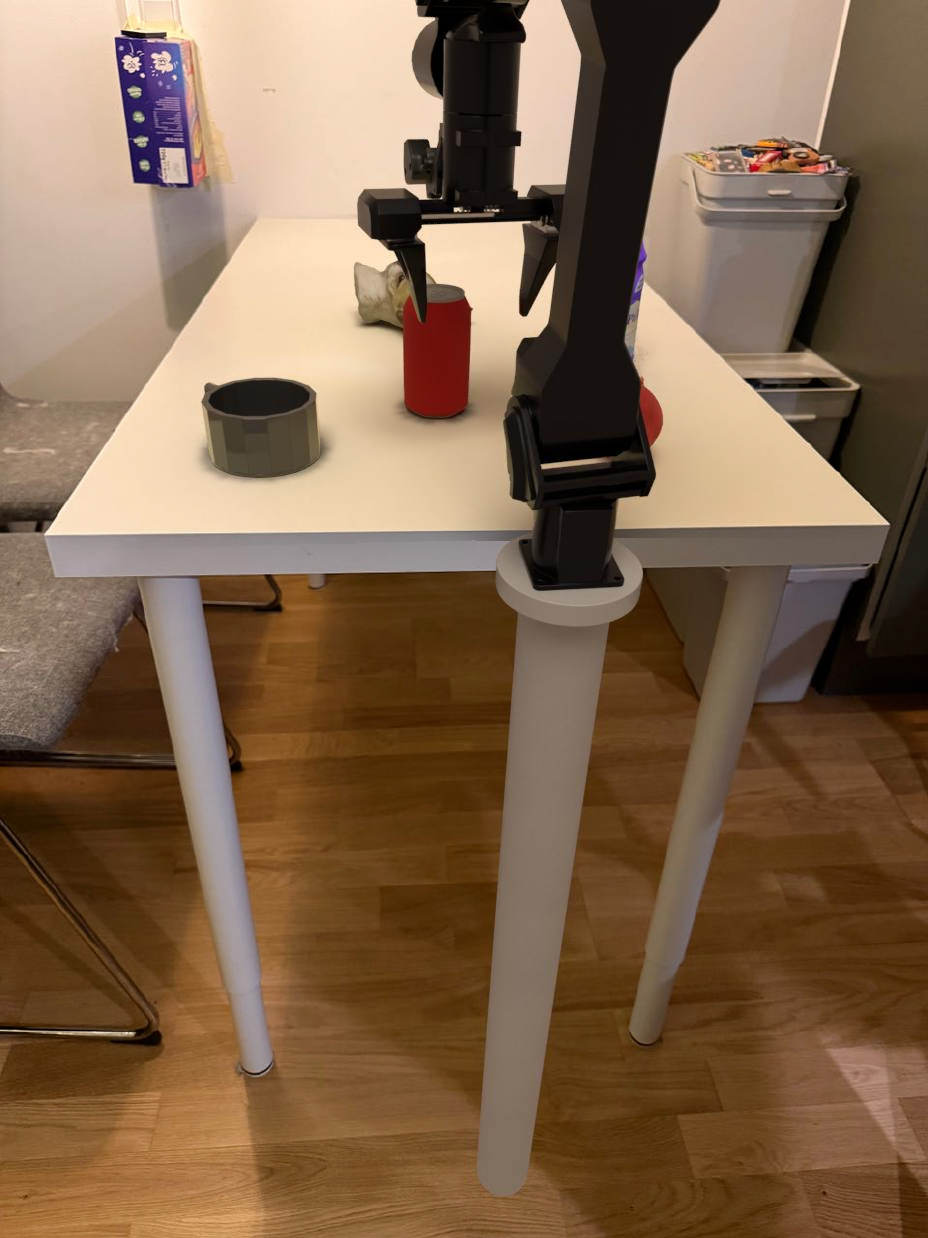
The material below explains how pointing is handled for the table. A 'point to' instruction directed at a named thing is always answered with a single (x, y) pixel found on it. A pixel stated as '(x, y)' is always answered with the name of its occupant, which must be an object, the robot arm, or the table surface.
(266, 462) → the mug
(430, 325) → the beverage can
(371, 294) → the ceramic sculpture
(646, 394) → the onion
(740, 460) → the table surface
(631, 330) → the bottle
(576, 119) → the robot arm
